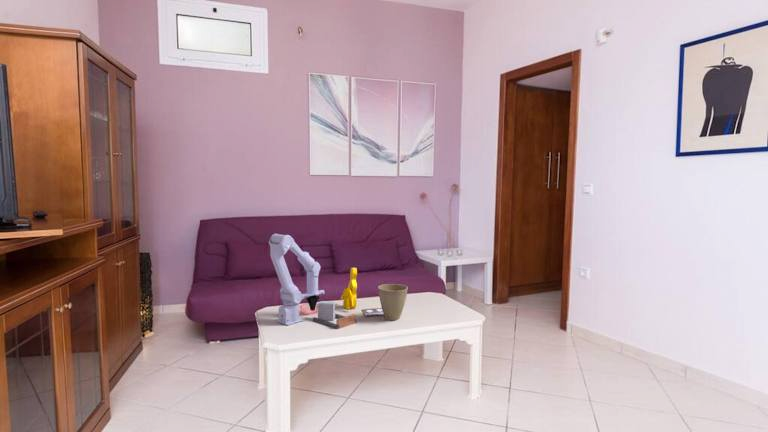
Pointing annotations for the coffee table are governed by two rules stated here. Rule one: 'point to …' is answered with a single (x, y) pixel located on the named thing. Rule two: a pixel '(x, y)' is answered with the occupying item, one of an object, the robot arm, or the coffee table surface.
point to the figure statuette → (350, 291)
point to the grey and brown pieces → (338, 321)
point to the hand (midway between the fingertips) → (312, 310)
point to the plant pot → (392, 300)
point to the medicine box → (326, 310)
